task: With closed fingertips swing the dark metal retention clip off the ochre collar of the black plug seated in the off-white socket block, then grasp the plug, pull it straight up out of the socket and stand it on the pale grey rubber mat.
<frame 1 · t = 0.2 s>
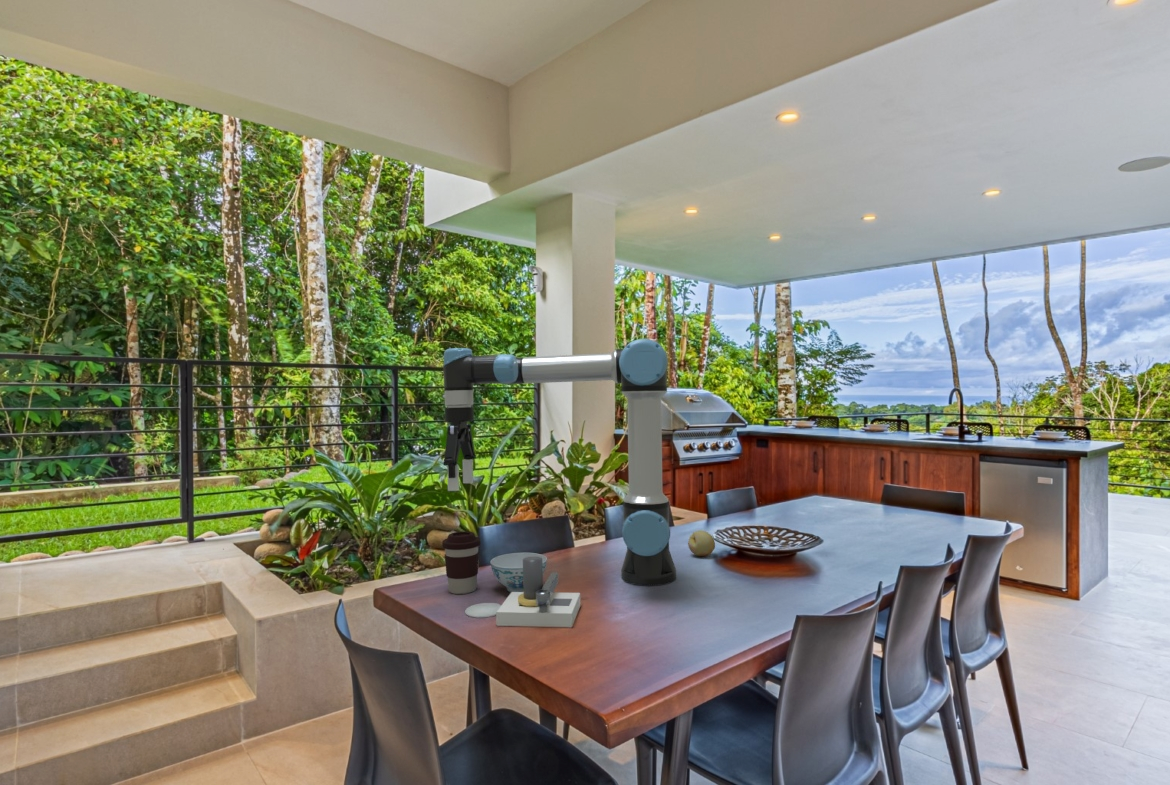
hand: (461, 486, 159), 28 cm above the table, fingers open, 13 cm apart
clip: (548, 588, 140), point 6 cm above the table, hinge at 0.0°
coffee cup: (462, 591, 159), on the table
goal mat: (484, 610, 143), on the table
fruit: (701, 557, 187), on the table
chinaware: (519, 589, 159), on the table
socket block: (540, 615, 139), on the table
plug: (533, 615, 139), resting in socket block
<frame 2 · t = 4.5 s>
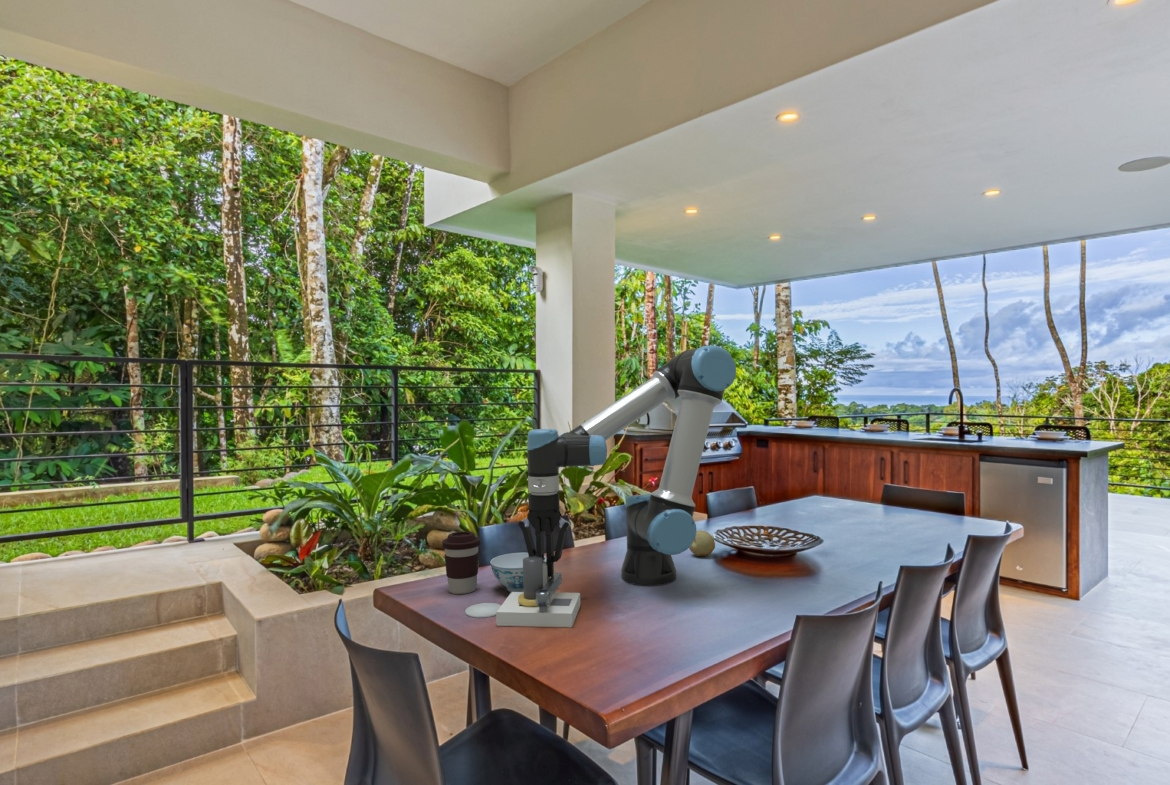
hand: (546, 589, 146), 4 cm above the table, fingers closed
clip: (550, 588, 140), point 6 cm above the table, hinge at 3.4°, touching gripper
everything else where it was.
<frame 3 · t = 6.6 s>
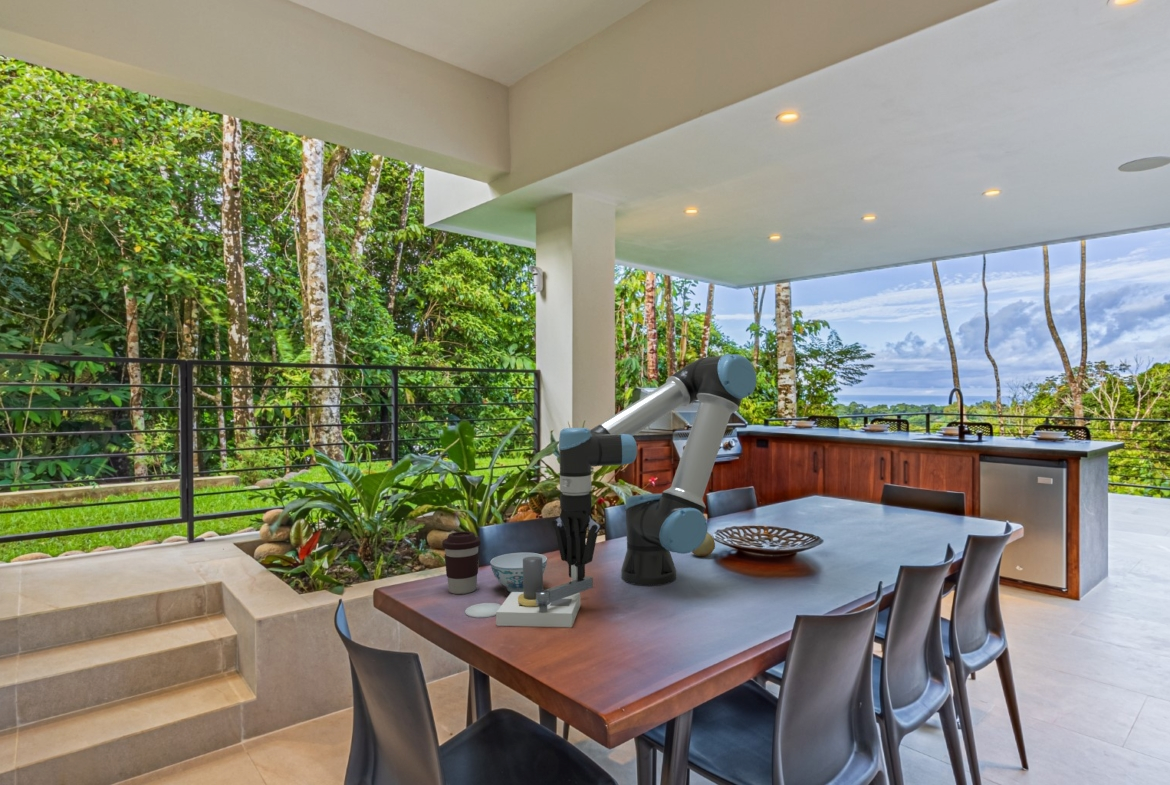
hand: (577, 591, 143), 4 cm above the table, fingers closed
clip: (565, 590, 138), point 6 cm above the table, hinge at 38.1°, touching gripper
everything else where it was.
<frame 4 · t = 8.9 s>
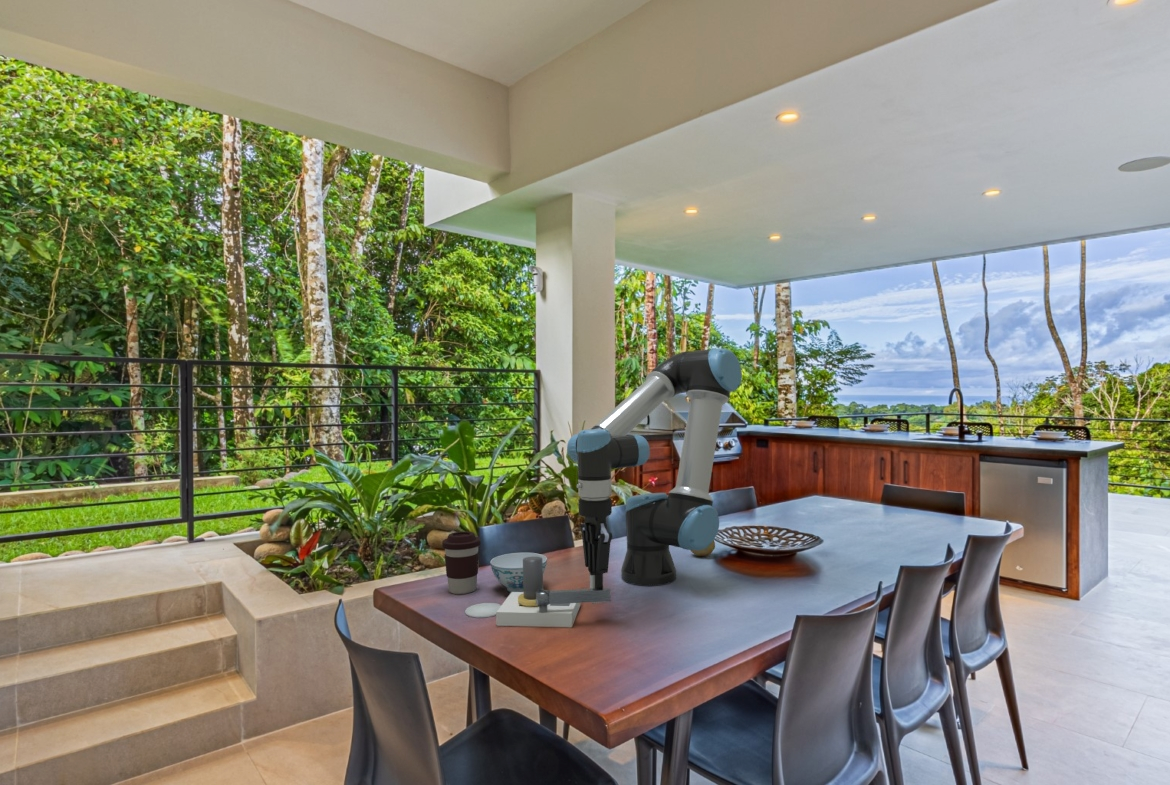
hand: (596, 601, 136), 4 cm above the table, fingers closed
clip: (573, 596, 134), point 6 cm above the table, hinge at 79.1°, touching gripper
everything else where it was.
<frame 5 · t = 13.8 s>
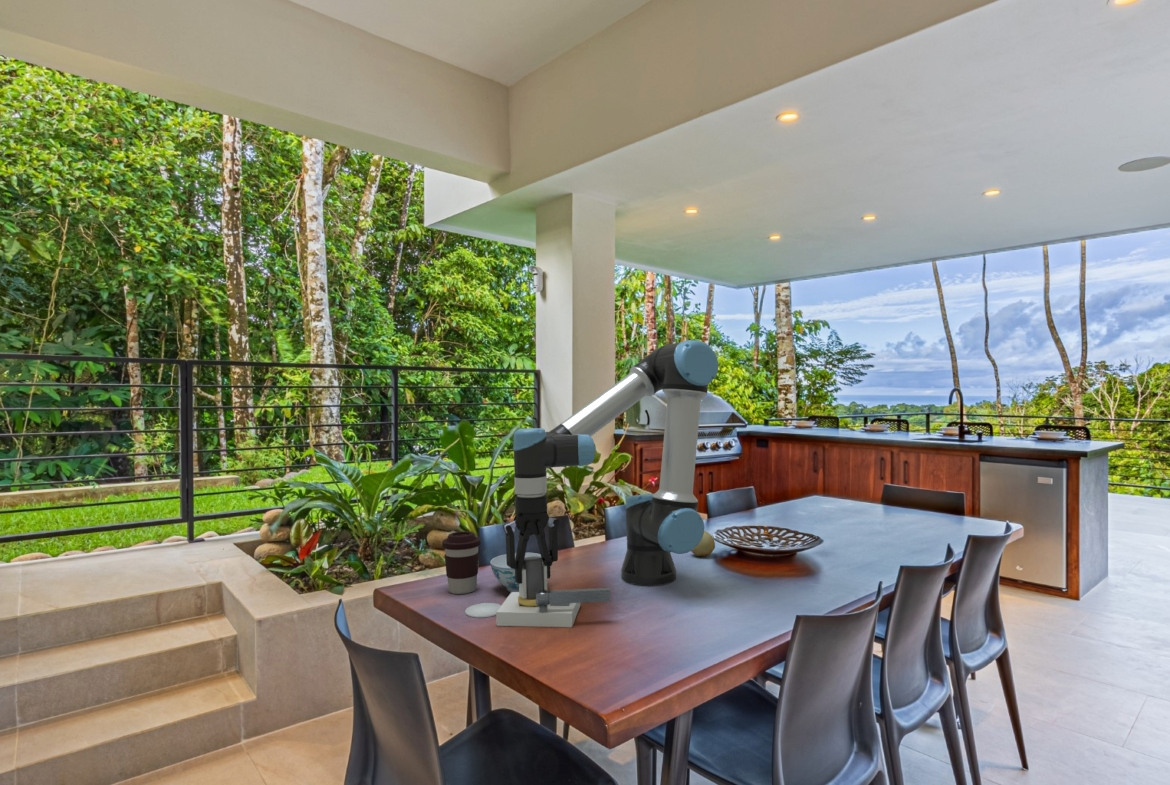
hand: (533, 594, 140), 5 cm above the table, fingers closed on plug, 5 cm apart
clip: (573, 596, 134), point 6 cm above the table, hinge at 79.1°
plug: (533, 614, 139), resting in socket block, touching gripper
everything else where it was.
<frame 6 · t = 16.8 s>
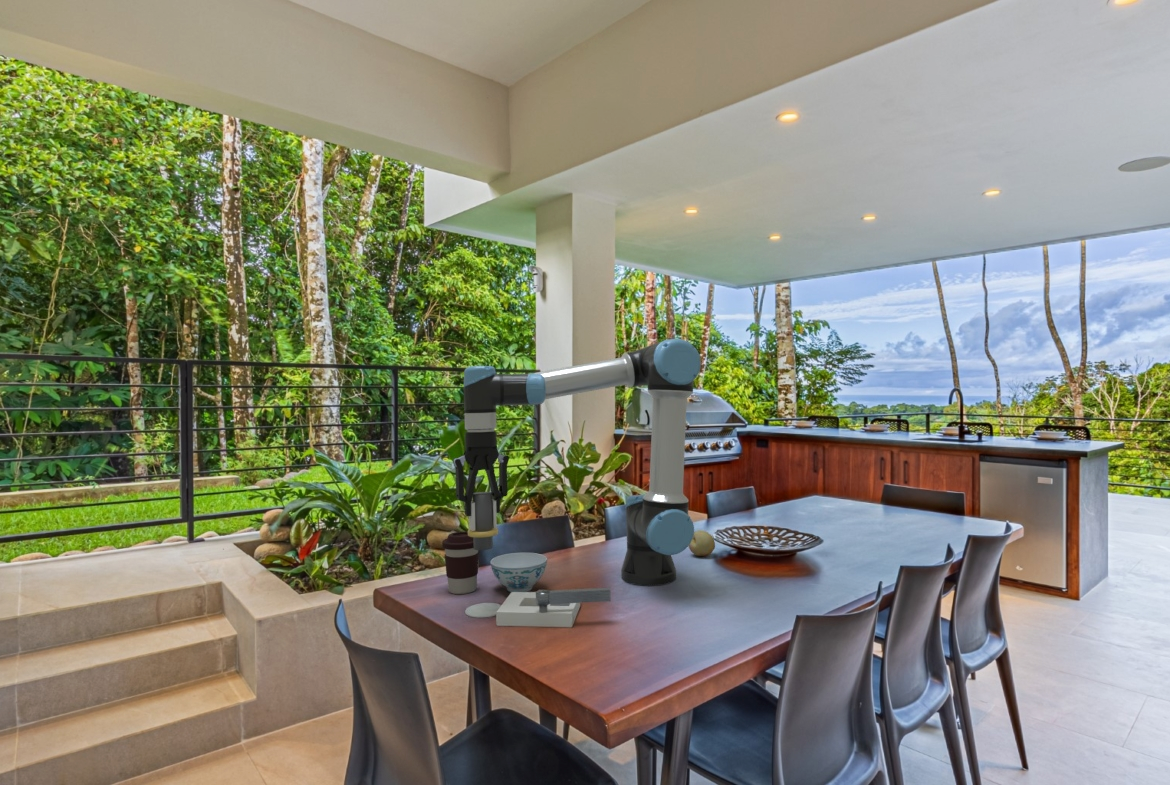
hand: (482, 528, 143), 20 cm above the table, fingers closed on plug, 5 cm apart
plug: (483, 547, 143), point 15 cm above the table, touching gripper
everything else where it was.
when the fingers open (6 cm above the table, at t = 19.7 s): plug stays where it is, resting on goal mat.
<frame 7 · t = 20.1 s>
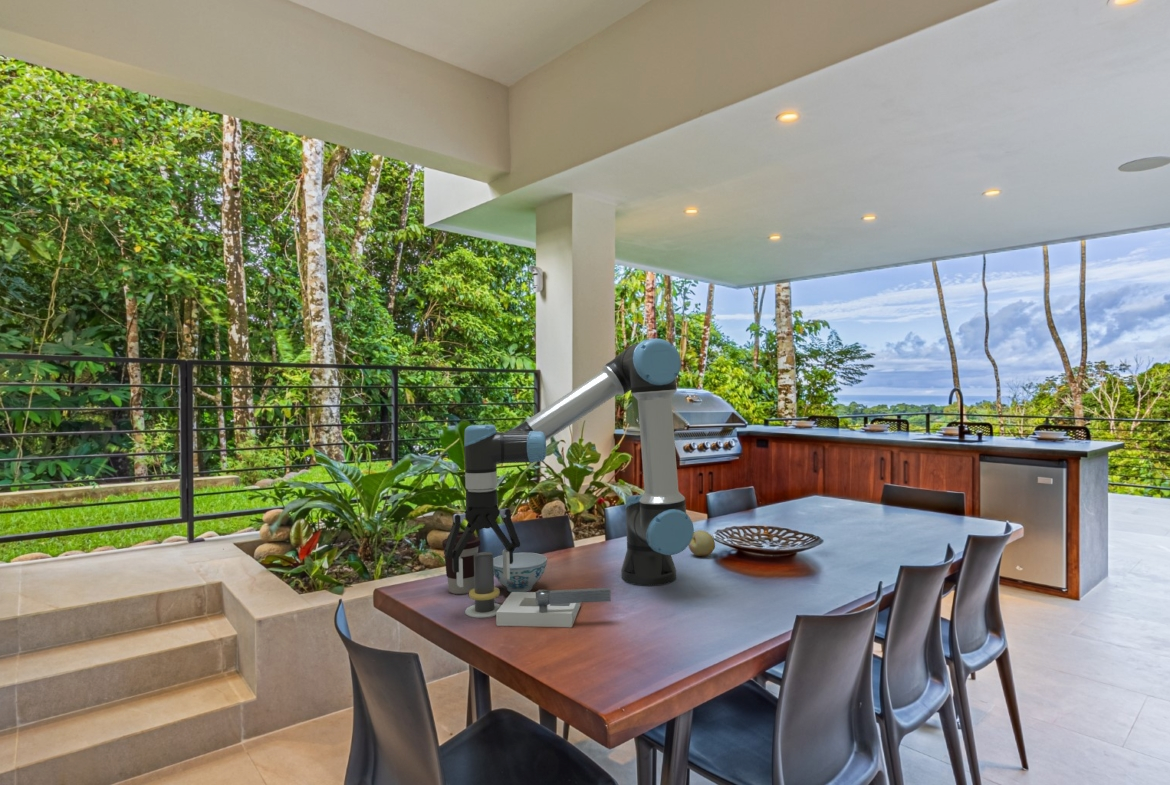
hand: (483, 581, 143), 7 cm above the table, fingers open, 11 cm apart
plug: (484, 609, 143), resting on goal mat
everything else where it was.
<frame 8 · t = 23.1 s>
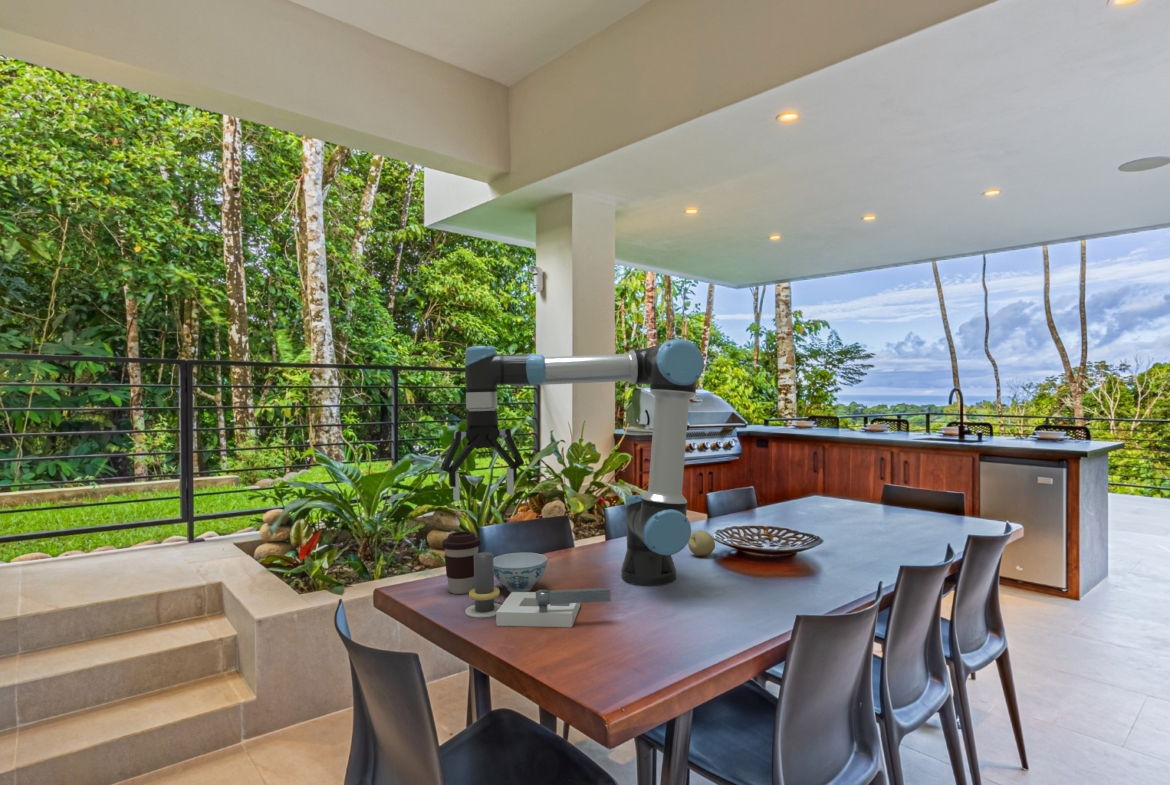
hand: (484, 497, 145), 27 cm above the table, fingers open, 13 cm apart
nothing on the table moved.
at the end: clip at +79° (first picture: +0°); plug inside the target area on the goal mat (0.1 cm from its centre), point 0.4 cm above the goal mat's base; plug tilted 0° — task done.
